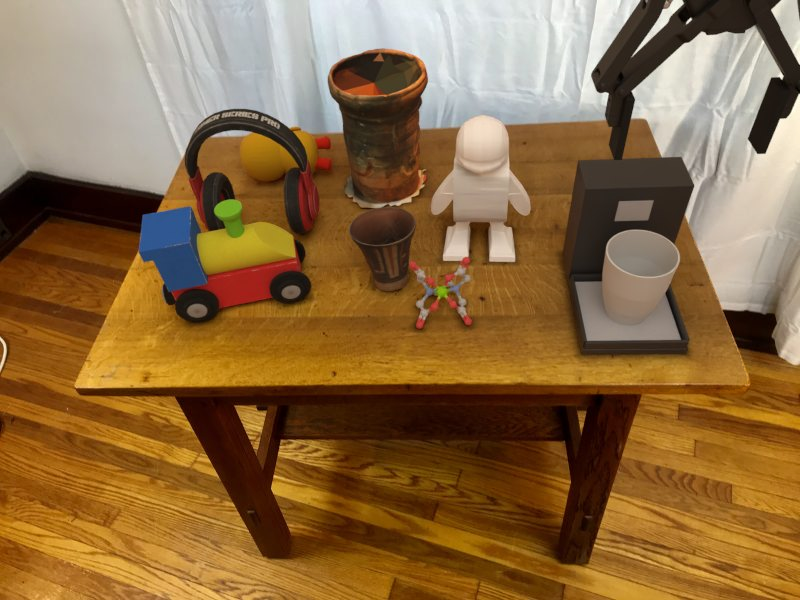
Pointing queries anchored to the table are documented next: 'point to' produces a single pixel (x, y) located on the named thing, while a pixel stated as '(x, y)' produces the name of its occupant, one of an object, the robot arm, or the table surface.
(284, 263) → the toy train
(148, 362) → the table surface
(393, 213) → the cup
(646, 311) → the cup
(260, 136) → the toy
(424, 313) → the molecular model
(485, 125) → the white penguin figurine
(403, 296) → the table surface
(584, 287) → the open gift box
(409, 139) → the vessel
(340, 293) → the table surface
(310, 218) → the headphones
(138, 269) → the table surface
